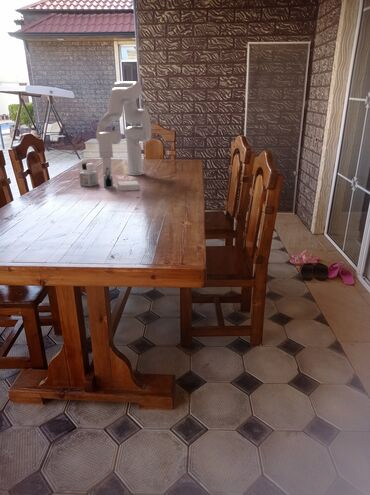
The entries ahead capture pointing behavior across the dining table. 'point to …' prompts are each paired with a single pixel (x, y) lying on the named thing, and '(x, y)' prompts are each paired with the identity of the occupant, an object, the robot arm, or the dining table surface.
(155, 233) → the dining table surface
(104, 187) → the blue block
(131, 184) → the base tile
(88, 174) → the container
